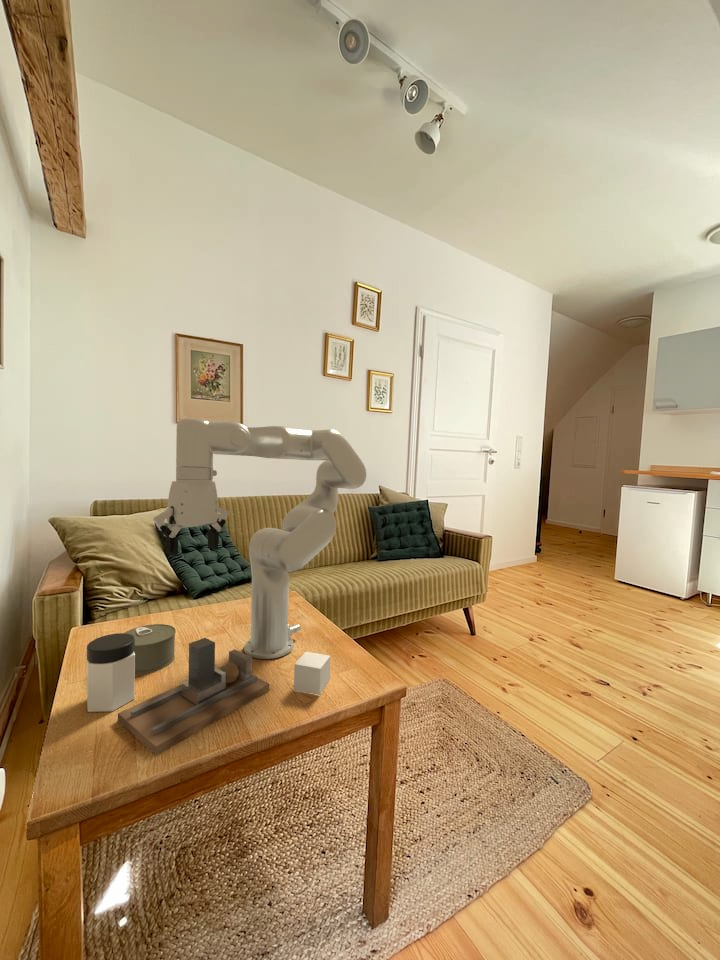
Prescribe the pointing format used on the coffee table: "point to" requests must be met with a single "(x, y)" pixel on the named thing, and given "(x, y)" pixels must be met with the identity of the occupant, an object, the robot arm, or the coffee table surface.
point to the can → (153, 647)
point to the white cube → (311, 673)
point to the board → (191, 707)
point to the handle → (203, 673)
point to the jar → (110, 672)
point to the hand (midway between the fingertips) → (193, 551)
